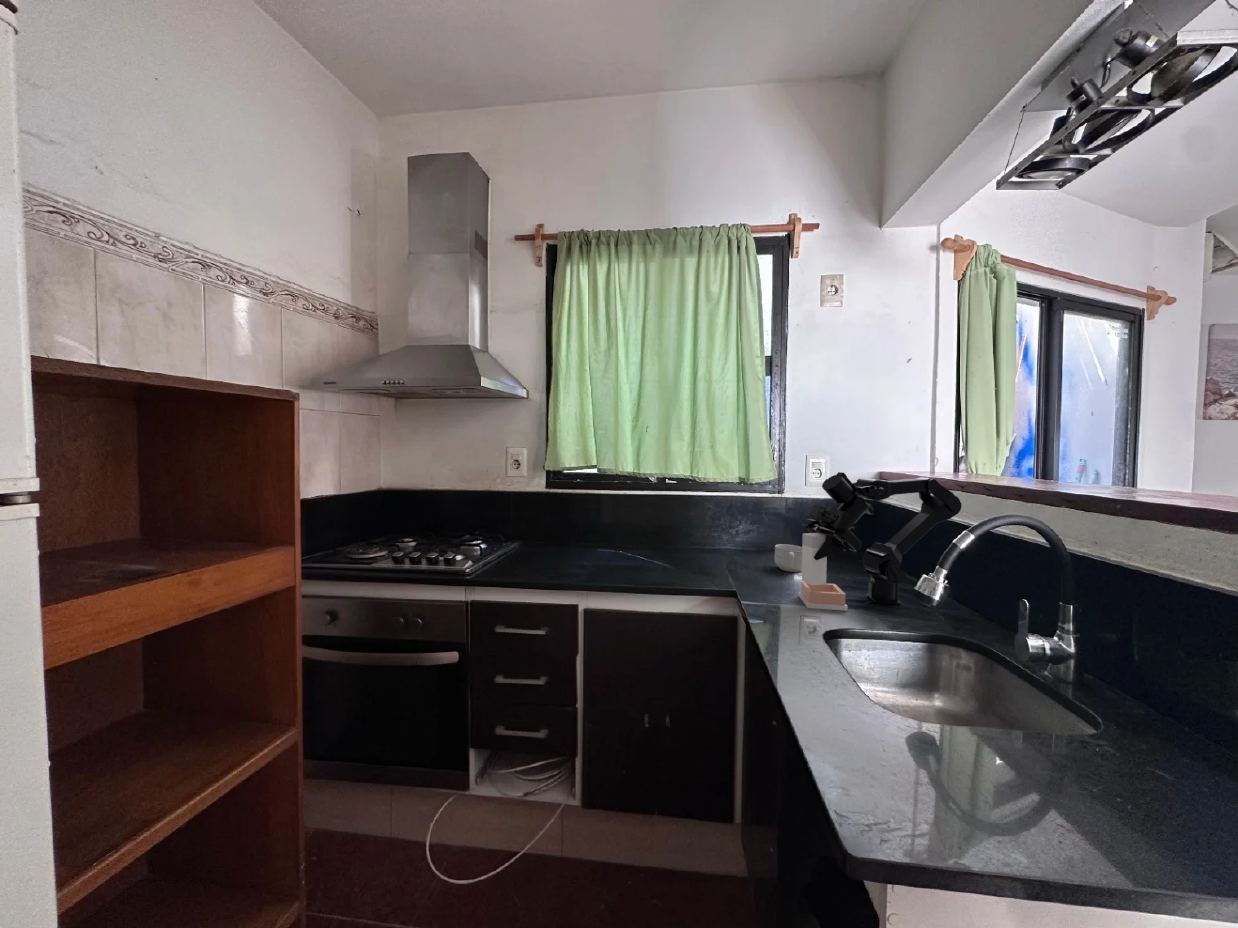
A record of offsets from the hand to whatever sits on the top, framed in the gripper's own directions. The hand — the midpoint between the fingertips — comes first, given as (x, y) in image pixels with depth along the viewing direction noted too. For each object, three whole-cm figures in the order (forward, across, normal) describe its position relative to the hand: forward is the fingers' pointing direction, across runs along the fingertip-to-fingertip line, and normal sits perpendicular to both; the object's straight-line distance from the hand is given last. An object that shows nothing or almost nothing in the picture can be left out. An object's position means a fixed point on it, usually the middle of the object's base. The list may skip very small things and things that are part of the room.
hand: (809, 556), depth 125 cm
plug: (+4, 0, +6) cm, 7 cm away
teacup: (0, -32, +19) cm, 37 cm away
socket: (+6, -1, +12) cm, 14 cm away
